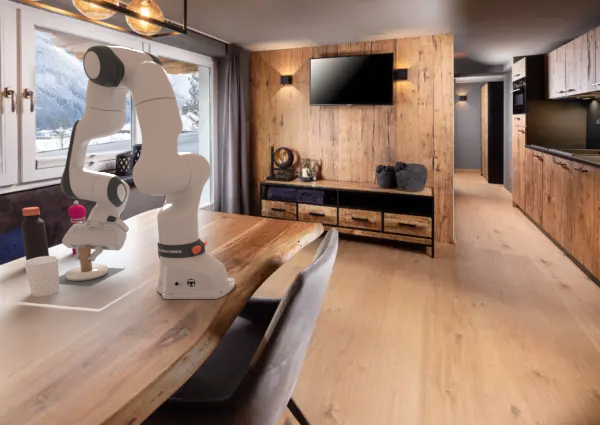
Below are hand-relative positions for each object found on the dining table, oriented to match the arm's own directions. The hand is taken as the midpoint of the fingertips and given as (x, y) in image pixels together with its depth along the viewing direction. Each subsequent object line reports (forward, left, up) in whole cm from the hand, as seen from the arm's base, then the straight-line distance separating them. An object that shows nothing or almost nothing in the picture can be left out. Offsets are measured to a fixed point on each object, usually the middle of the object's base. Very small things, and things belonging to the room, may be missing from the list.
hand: (84, 260), depth 127 cm
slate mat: (0, -1, -6) cm, 6 cm away
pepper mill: (+22, -25, -6) cm, 34 cm away
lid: (0, -1, -5) cm, 5 cm away
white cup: (+2, +13, -6) cm, 15 cm away
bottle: (+26, -9, -6) cm, 28 cm away
